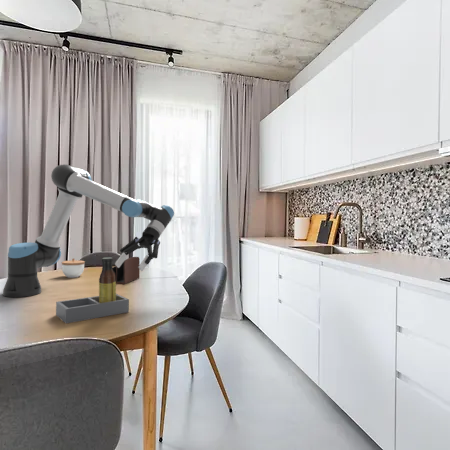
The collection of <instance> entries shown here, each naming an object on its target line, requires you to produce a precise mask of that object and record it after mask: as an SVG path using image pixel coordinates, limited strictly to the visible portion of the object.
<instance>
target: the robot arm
mask: <svg viewBox="0 0 450 450" xmlns="http://www.w3.org/2000/svg"><path fill="white" fill-rule="evenodd" d="M50 176H51V181H52V183H53V184H54V185H55V186H56V187H57V190H58V192H59V193H58V195H57V198H56V201H55V202H54V205H53V208H52V210H51V212H50V215H49V217H48V220H47V222H46V223H45V225H44V229H42V230H43V231H42V233H41V235H39V236H37V237H36V239H35V241H34V242H31V241H30V242H19V243H15V244H12V245H10V246H9V247H8V253H7V279H6V282H5V285H4V287H3V289H2V296H3V297H7V298H21V297H22V298H23V297H31V296H35V295H38V294H41V293H42V286H41V284H40V283H41V282H40V281H39V277H38V269H40V268H47V267H50V266H53V265H55V264H57V263H58V262H59V260H60V259H61V257H62V251H61V247H62V246H61V242H60V240H61V238H62V235H63V233H64V231H65V229H66V226H67V224H68V223H69V219H70V217H71V215H72V212H73V210H74V208H75V205H76V203H77V201H78V200H80V199H82V198H83V196H85V197H87V198H89V199H92V200H94V201H96V202H98V203H100V204H103V205H106V206H107V207H109V208H112V209H114V210H117V211H119V212H121V213H123V214H124V215H125V216H127V217H129V218H143V219H146V220H149V221H150V222H149V223H148V224H147V226H146V227H145V229H144V230H143V232H142V233H141V234H142V235H141V237H140V238H139V237H137V236H134V238H133V239H132V240H131V241H130V242H128V243H127V244H125V245H124V246H122V248H120V250H119V251H120V253H121V254H120V255H119V256H118V258H117V260H116V261H115V262H114V265H115V266H117V267H118V268H119V267H120V266H121V265H122V263H123V262H124V261H125V260H126V259H128V255H130V254H131V253H133V252H135V251H136V250H138V249H139V250H140V249H146V250H147V254H146V255H145V257H144V258H143V260H142V261H141V262H140V265H139V269H140V271H141V272H144V270H145V268H146V267H147V266H148V265H149V264H150V262H151V261H152V260H153V259H158V256H159V255H158V254H159V247H160V244H161V241H160V240H159V238H160V237H161V236H162V234H163V232H164V231H165V229H166V228H167V227H168V225H169V224H170V222H171V221H172V219H173V217H174V216H175V210H174V209H173V208H172V207H171V206H170V205H167V204H163V205H161V206H160V207H159V206H156V205H154V204H151V203H149V202H147V201H146V200H142V199H140V198H137V199H134V198H132V197H129V196H127V195H125V194H123V193H120V192H118V191H116V190H113V189H111V188H109V187H107V186H104V185H102V184H100V183H97V182H95V181H94V180H92V177H91V174H90V173H89V172H88V171H86V170H85V169H83V168H80V167H77V166H73V165H69V164H59V165H57V166H55V167H54V168H53V170H52V171H51V175H50Z"/></svg>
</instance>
